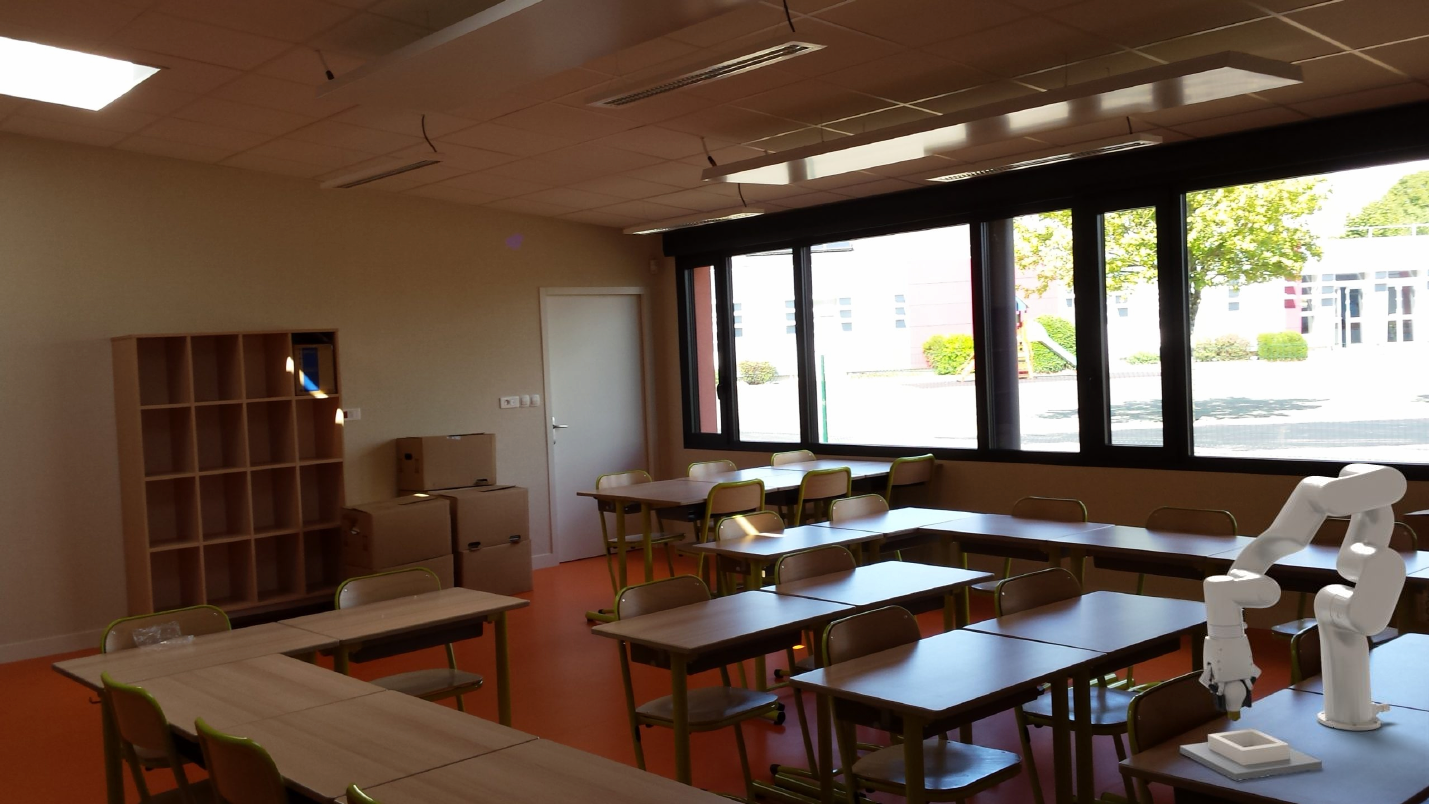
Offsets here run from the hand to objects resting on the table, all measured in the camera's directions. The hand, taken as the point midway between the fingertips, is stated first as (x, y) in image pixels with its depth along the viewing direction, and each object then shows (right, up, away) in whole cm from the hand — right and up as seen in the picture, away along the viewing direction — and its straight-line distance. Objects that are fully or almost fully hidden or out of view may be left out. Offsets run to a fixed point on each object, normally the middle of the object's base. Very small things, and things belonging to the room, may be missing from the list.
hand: (1233, 707), depth 243 cm
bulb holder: (-6, -6, -19) cm, 21 cm away
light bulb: (0, -3, 0) cm, 3 cm away
